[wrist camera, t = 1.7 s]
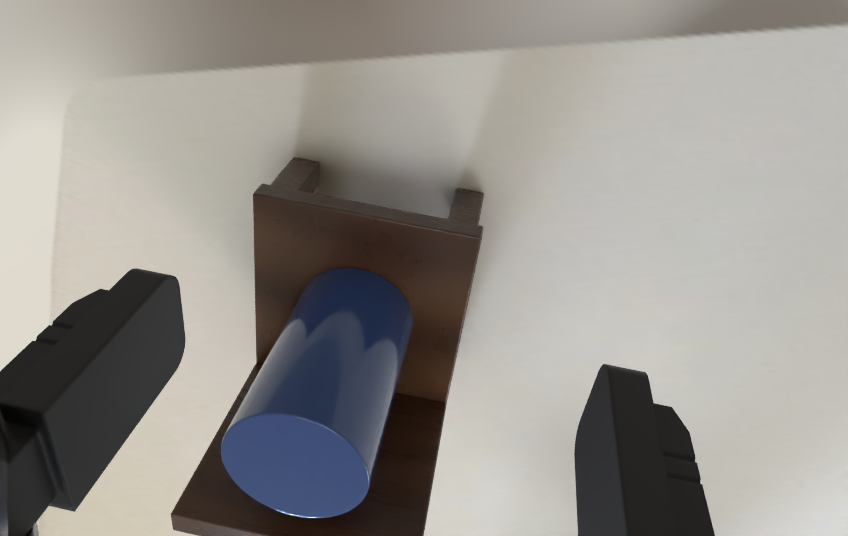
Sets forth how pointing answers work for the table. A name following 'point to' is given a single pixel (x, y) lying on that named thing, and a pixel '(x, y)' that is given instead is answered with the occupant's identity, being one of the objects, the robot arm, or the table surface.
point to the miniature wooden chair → (422, 369)
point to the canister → (322, 397)
